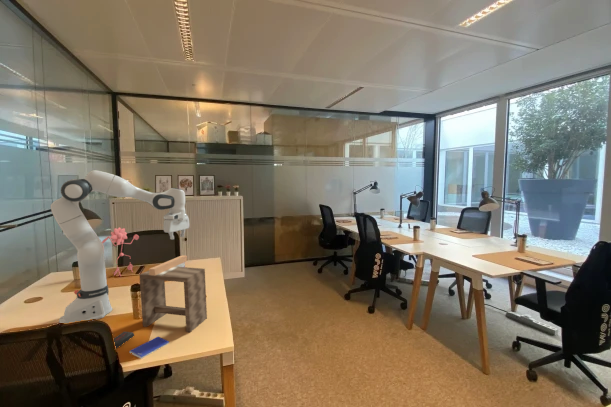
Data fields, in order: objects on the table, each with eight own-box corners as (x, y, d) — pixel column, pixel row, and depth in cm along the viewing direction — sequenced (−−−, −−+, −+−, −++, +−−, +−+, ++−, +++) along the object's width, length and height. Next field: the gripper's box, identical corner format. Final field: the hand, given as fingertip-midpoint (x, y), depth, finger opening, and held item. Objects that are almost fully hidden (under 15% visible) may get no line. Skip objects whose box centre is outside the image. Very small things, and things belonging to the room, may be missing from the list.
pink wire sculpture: (144, 269, 231) (140, 225, 227) (109, 280, 208) (104, 231, 205) (132, 267, 238) (128, 224, 235) (97, 277, 215) (92, 229, 212)
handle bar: (155, 275, 137) (154, 269, 137) (149, 275, 138) (149, 268, 137) (187, 260, 160) (186, 255, 160) (182, 260, 161) (181, 255, 161)
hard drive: (140, 356, 117) (168, 341, 128) (129, 350, 121) (157, 336, 132) (141, 360, 117) (169, 344, 128) (129, 354, 121) (157, 339, 132)
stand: (190, 332, 136) (187, 277, 134) (142, 326, 143) (139, 273, 140) (206, 318, 150) (204, 267, 148) (163, 313, 156) (160, 264, 154)
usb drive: (134, 336, 134) (133, 331, 134) (113, 352, 122) (112, 346, 122) (124, 335, 135) (123, 330, 135) (102, 351, 123) (101, 345, 123)
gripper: (183, 213, 186) (183, 235, 187) (161, 216, 166) (161, 240, 167) (192, 213, 185) (192, 235, 186) (171, 216, 165) (171, 241, 166)
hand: (177, 238), depth 176 cm, fingers open, 8 cm apart
